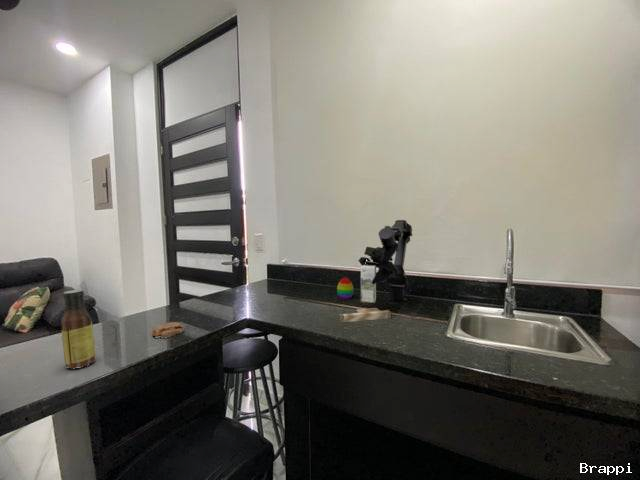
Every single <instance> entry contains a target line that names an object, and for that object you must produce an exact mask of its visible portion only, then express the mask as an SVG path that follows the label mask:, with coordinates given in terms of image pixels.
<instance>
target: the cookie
mask: <svg viewBox="0 0 640 480" xmlns="http://www.w3.org/2000/svg"><path fill="white" fill-rule="evenodd" d="M184 331H185V329H184V326H183V325H182V323H181V322H177V321H171V322H166V323H164V324H163V323H162V324H159V325H158V326H156V327H154V328H153V329H152V331H151V336H152V337H153V336H155V337H158V336H161V337H168V336H171V335H174V334H177V333H180V332H183V333H184Z"/></svg>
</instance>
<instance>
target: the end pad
mask: <svg viewBox="0 0 640 480" xmlns="http://www.w3.org/2000/svg"><path fill="white" fill-rule="evenodd" d="M374 311H381V310H380V309H379V308H377V307H370V308H358V309H356V313H362V312H374Z"/></svg>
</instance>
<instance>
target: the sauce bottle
mask: <svg viewBox="0 0 640 480" xmlns="http://www.w3.org/2000/svg"><path fill="white" fill-rule="evenodd" d="M62 294H63V296H62V297H63V299H64V305H65V307H64V308H65V310H64V312H63V315H62V317H61V318H60V324H61V338H62V341H61V342H62V347H63V358H64V363H65V368H66V367H68V368H76V367H82V366H86V365H88V364H90V363H92V362H93V361H94V360H96V347H95V337H94V330H93V329H94V328H93V327H94V326H93V320H92V317H91V315H90V313H89V311H88V309H87V308H86V305H85V301H84V295H85V293H84V289H72V290H67V291H64V292H63V293H62ZM94 362H95V361H94ZM94 362H93V363H94ZM93 363H92V364H93ZM90 365H91V364H90ZM88 366H89V365H88ZM86 367H87V366H86Z"/></svg>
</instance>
